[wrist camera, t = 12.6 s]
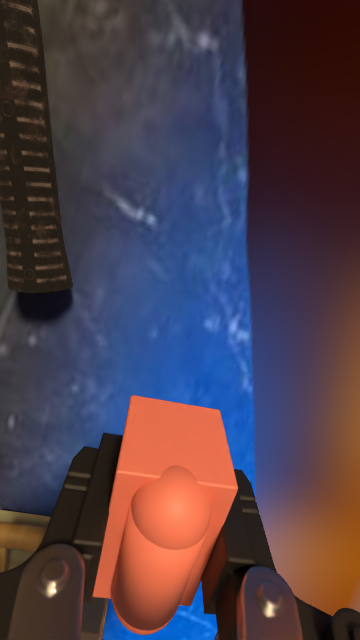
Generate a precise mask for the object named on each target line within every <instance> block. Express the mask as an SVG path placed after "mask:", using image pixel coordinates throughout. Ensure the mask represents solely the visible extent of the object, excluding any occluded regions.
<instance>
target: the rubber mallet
mask: <svg viewBox="0 0 360 640" xmlns="http://www.w3.org/2000/svg"><path fill="white" fill-rule="evenodd" d="M0 201H1V208H2V214H3V221H4V229H5V238H6V251H7V275H8V287H9V289H11V290H13V291H18V292H25V293H46V292H56V291H62V290H66V289H68V288H71V287H72V286H73V283H72V278H71V273H70V269H69V264H68V260H67V256H66V251H65V246H64V241H63V235H62V229H61V221H60V214H59V205H58V195H57V186H56V176H55V167H54V158H53V148H52V138H51V129H50V119H49V109H48V98H47V86H46V75H45V64H44V53H43V44H42V35H41V27H40V19H39V11H38V3H37V0H0Z"/></svg>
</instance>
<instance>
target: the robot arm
mask: <svg viewBox="0 0 360 640" xmlns="http://www.w3.org/2000/svg"><path fill="white" fill-rule="evenodd" d="M122 439H123V436H122V435H116V434H109V433H103V436H102V439H101V443H100V446H99V449H97V448H90V447H83V448H82V449H81V450H80V452H79V453H78V454H77V455H76V456H75V457H74V458H73V460H72V463H71V465H70V468H69V471H68V474H67V476H66V479H65V481H64V484H63V488H62V489H61V492H60V495H59V497H58V500H57V503H56V505H55V508H54V511H53V513H52V516H51V519H50V521H49V524H48V527H47V529H46V532H45V535H44V537H43V540H42V542H41V544H40V545H39V547H38V548H37V550H36V551H35V552H34V553H33V554H32V555H31V556H30V557H29V558H28V559H27V560H26V561H24V562H23V563H22V564H20V565H18V566H17V567H15V568H13V569H10V570H7V571H4V572H1V573H0V640H80V638H81V624H82V610H83V603H84V602H92V597H93V592H94V587H95V582H96V577H97V572H98V567H99V562H100V557H101V552H102V548H103V542H104V537H105V532H106V527H107V522H108V517H109V511H108V508H109V503H110V498H111V493H112V488H113V484H114V479H115V474H116V469H117V464H118V459H119V454H120V449H121V444H122ZM234 473H235V477H236V481H237V485H238V490H237V493H236V495H235V498H234V500H233V503H232V505H231V508H230V510H229V513H228V515H227V518H226V520H225V523H224V525H223V526H222V528H221V531H220V533H219V536H218V538H217V541H216V543H215V546H214V548H213V550H212V553H211V555H210V558H209V560H208V563H207V565H206V568H205V570H204V573H203V575H202V578H201V580H202V592H203V604H204V614H215V615H216V619H217V628H218V631H217V633H216V636H215V639H214V640H360V613H359V612H357V611H355V610H353V609H349V608H342V609H339V610H338V611H337V612H336V613H335V614H334V615H333V616H331V615H329V614H327V613H325V612H323V611H321V610H319V609H317V608H315V607H313V606H311V605H309V604H307V603H305V602H303V601H302V600H300V599H299V598H297V597H296V596H294V594H293V592H292V590H291V588H290V587H289V585H288V584H287V582H286V581H285V580H284V579H283V578H282V577H281V576H280V575H279V574H278V573H277V571H276V569H275V566H274V563H273V560H272V556H271V553H270V549H269V545H268V542H267V538H266V535H265V531H264V528H263V524H262V521H261V518H260V515H259V510H258V507H257V503H256V502H255V496H254V493H253V489H252V486H251V483H250V482H249V480H248V479H247V477H246V476H245V474H244V473H243V471H242V470H237V469H234Z"/></svg>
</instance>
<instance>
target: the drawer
mask: <svg viewBox="0 0 360 640" xmlns="http://www.w3.org/2000/svg"><path fill="white" fill-rule="evenodd" d="M50 519H51V517H49V516H41V515H34V514H27V513H20V512H12V511H5V510H0V573H1V572H4V571H7V570H10V569H13V568H15V567H17V566H18V565H20V564H22V563H23V562H24V561H26V560H27V559H28V558H29V557H30V556H31V555H32V554H33V553H34V552H35V551H36V550H37V548H38V547H39V545H40V544H41V542H42V540H43V537H44V535H45V532H46V529H47V527H48V524H49V521H50ZM105 599H106V598H101V597H92V602H84V603H83V610H82V624H81V638H80V640H98V638H99V634H100V628H101V623H102V617H103V611H104V605H105Z"/></svg>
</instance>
